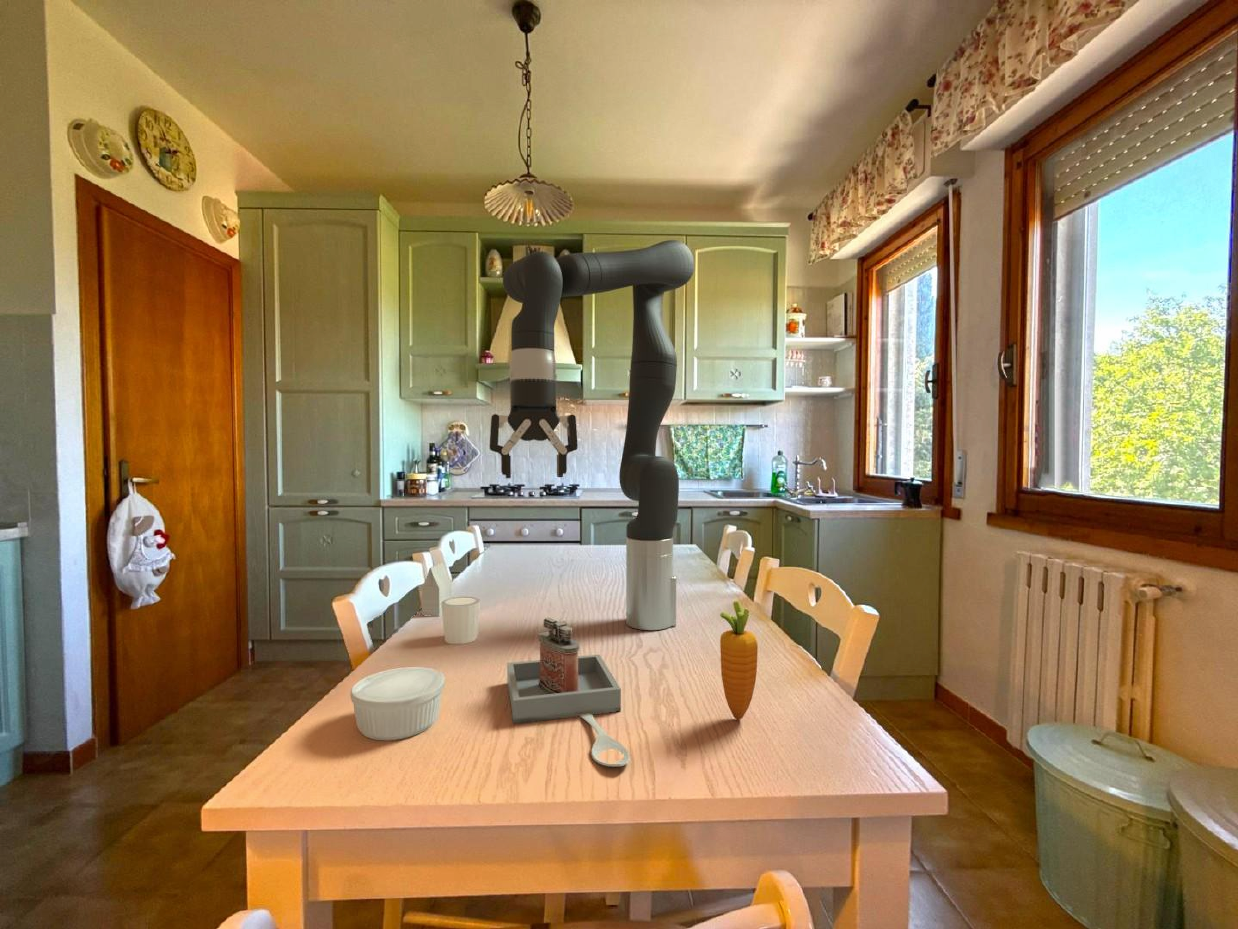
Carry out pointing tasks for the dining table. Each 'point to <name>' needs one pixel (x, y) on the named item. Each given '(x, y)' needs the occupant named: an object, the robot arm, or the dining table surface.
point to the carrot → (738, 662)
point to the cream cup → (460, 619)
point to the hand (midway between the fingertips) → (534, 477)
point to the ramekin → (397, 702)
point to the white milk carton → (436, 590)
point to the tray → (535, 705)
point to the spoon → (605, 743)
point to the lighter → (558, 658)
